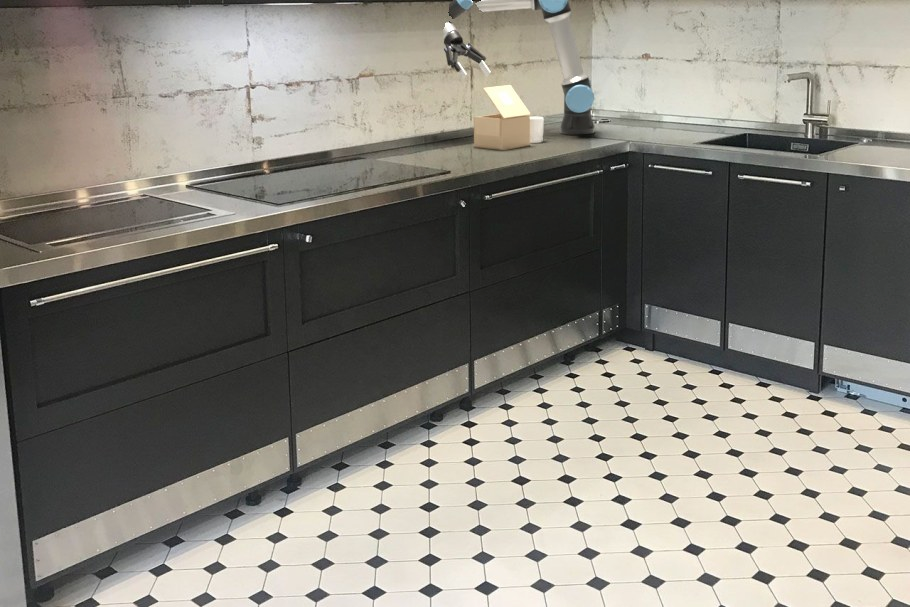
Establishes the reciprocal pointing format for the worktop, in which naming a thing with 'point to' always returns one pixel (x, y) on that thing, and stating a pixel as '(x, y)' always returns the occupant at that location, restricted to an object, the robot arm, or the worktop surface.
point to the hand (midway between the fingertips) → (477, 75)
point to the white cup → (536, 129)
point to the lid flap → (506, 101)
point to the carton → (501, 132)
